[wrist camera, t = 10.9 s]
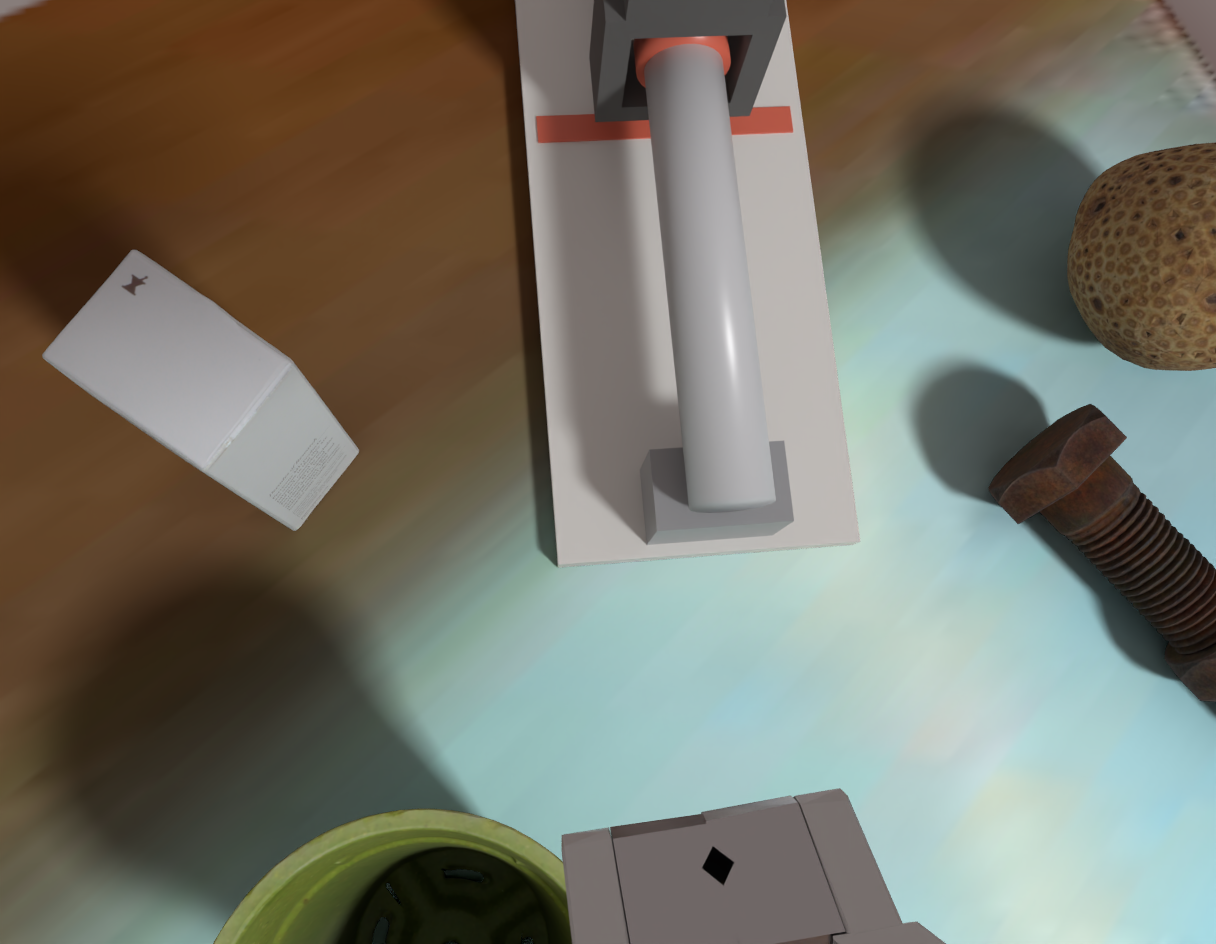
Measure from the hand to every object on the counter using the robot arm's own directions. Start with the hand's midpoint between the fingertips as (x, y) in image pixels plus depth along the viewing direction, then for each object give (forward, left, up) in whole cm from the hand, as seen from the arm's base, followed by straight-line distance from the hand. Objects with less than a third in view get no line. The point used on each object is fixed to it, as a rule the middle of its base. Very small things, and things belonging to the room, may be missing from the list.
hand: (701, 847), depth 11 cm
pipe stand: (+6, +20, -29) cm, 36 cm away
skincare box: (-11, +12, -29) cm, 34 cm away
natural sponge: (+25, +16, -29) cm, 42 cm away
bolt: (+23, +4, -30) cm, 38 cm away
